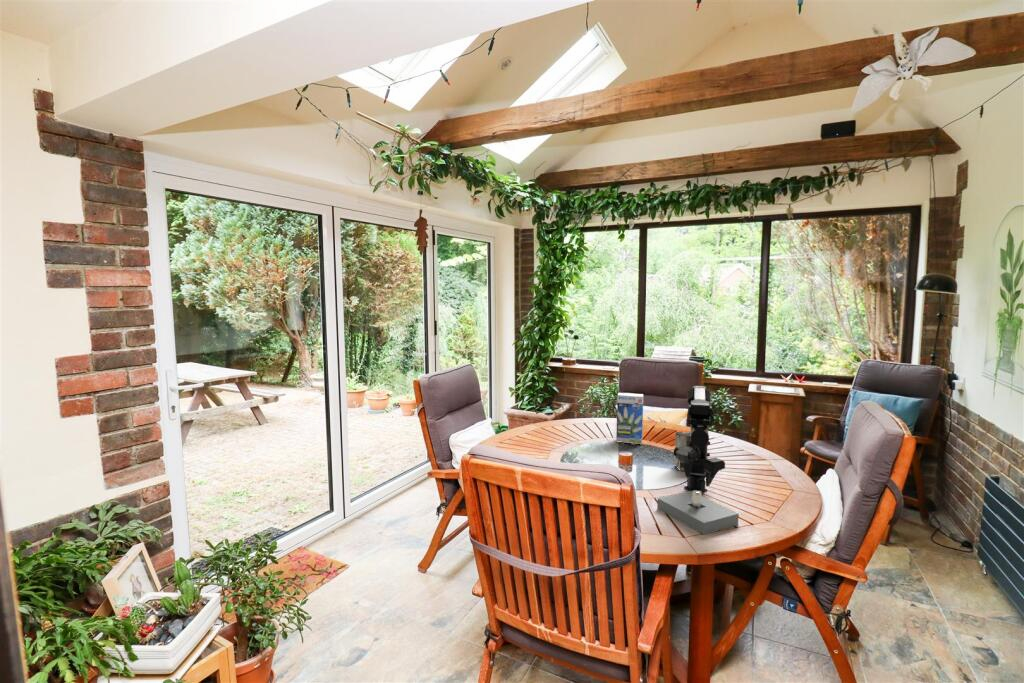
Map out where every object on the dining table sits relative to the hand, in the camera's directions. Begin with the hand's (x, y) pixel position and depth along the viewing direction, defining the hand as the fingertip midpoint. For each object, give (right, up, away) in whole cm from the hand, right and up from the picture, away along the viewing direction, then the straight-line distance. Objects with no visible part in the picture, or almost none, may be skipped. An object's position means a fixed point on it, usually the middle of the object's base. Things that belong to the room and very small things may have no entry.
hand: (697, 481), depth 176 cm
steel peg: (0, -13, +1) cm, 13 cm away
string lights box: (-3, -4, +89) cm, 89 cm away
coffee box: (+14, -8, +50) cm, 52 cm away
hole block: (0, -13, +1) cm, 13 cm away
